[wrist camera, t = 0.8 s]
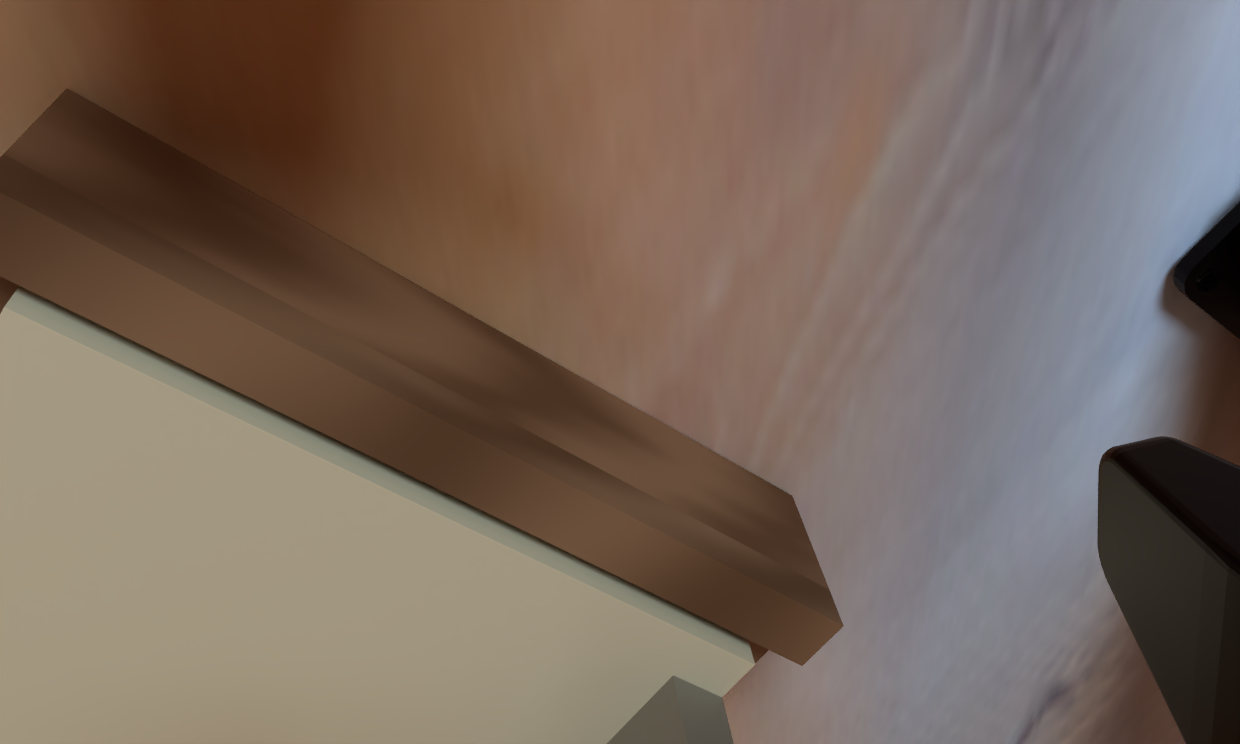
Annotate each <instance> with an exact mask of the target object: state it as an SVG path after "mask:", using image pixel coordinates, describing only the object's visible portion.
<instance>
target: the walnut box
mask: <svg viewBox="0 0 1240 744" xmlns="http://www.w3.org/2000/svg"><path fill="white" fill-rule="evenodd" d="M19 286H21V287H23V288H25V289H27V290H29V291H31V292H33V293H36V294H38V295H40V296H42V297H44V298H46V299H48V300H50V301H52V302H54V303H56V304H58V305H60V306H62V307H64V308H66V309H68V310H71V311H73V312H75V313H77V314H79V315H81V316H83V317H85V318H87V319H89V320H91V321H93V322H95V323H97V324H99V325H101V326H103V327H106V328H108V329H110V330H112V331H114V332H116V333H118V334H120V335H122V336H124V337H126V338H128V339H130V340H132V341H134V342H136V343H138V344H141V345H143V346H145V347H147V348H149V349H151V350H153V351H155V352H157V353H159V354H161V355H163V356H165V357H167V358H169V359H171V360H173V361H176V362H178V363H180V364H182V365H184V366H186V367H188V368H190V369H192V370H194V371H196V372H198V373H200V374H202V375H204V376H206V377H208V378H211V379H213V380H215V381H217V382H219V383H221V384H223V385H225V386H227V387H229V388H231V389H233V390H235V391H237V392H239V393H241V394H243V395H246V396H248V397H250V398H252V399H254V400H256V401H258V402H260V403H262V404H264V405H266V406H268V407H270V408H272V409H274V410H276V411H278V412H280V413H283V414H285V415H287V416H289V417H291V418H293V419H295V420H297V421H299V422H301V423H303V424H305V425H307V426H309V427H311V428H313V429H315V430H318V431H320V432H322V433H324V434H326V435H328V436H330V437H332V438H334V439H336V440H338V441H340V442H342V443H344V444H346V445H348V446H350V447H353V448H355V449H357V450H359V451H361V452H363V453H365V454H367V455H369V456H371V457H373V458H375V459H377V460H379V461H381V462H383V463H385V464H388V465H390V466H392V467H394V468H396V469H398V470H400V471H402V472H404V473H406V474H408V475H410V476H412V477H414V478H416V479H418V480H420V481H423V482H425V483H427V484H429V485H431V486H433V487H435V488H437V489H439V490H441V491H443V492H445V493H447V494H449V495H451V496H453V497H455V498H458V499H460V500H462V501H464V502H466V503H468V504H470V505H472V506H474V507H476V508H478V509H480V510H482V511H484V512H486V513H488V514H490V515H493V516H495V517H497V518H499V519H501V520H503V521H505V522H507V523H509V524H511V525H513V526H515V527H517V528H519V529H521V530H523V531H525V532H528V533H530V534H532V535H534V536H536V537H538V538H540V539H542V540H544V541H546V542H548V543H550V544H552V545H554V546H556V547H558V548H560V549H563V550H565V551H567V552H569V553H571V554H573V555H575V556H577V557H579V558H581V559H583V560H585V561H587V562H589V563H591V564H593V565H595V566H598V567H600V568H602V569H604V570H606V571H608V572H610V573H612V574H614V575H616V576H618V577H620V578H622V579H624V580H626V581H628V582H630V583H633V584H635V585H637V586H639V587H641V588H643V589H645V590H647V591H649V592H651V593H653V594H655V595H657V596H659V597H661V598H663V599H665V600H668V601H670V602H672V603H674V604H676V605H678V606H680V607H682V608H684V609H686V610H688V611H690V612H692V613H694V614H696V615H698V616H700V617H703V618H705V619H707V620H709V621H711V622H713V623H715V624H717V625H719V626H721V627H723V628H725V629H727V630H729V631H731V632H733V633H735V634H738V635H740V636H742V637H744V638H746V639H748V641H749V645H750V648H751V652H752V655H753V659H754V662H755V663H756V662H757V661H758V660H759V659H760V658H761V657H762V656H763V655H764V654H765V653H766V652H767V651H768V650H770V651H773V652H775V653H777V654H779V655H781V656H783V657H785V658H787V659H789V660H791V661H793V662H795V663H797V664H799V665H801V666H803V665H804V664H805V663H806V662H807V661H808V660H809V659H810V658H811V657H812V656H813V655H814V654H815V653H816V652H817V651H818V650H819V649H820V648H821V647H822V646H823V645H824V644H825V643H826V642H827V641H828V640H829V639H830V638H832V637H833V636H834V635H835V634H836V633H837V632H838V631H839V630H840V629H841V628H842V627H843V623H842V621H841V618H840V616H839V613H838V611H837V608H836V606H835V603H834V601H833V598H832V595H831V593H830V590H829V588H828V585H827V583H826V580H825V578H824V575H823V573H822V570H821V568H820V565H819V562H818V560H817V557H816V555H815V552H814V550H813V547H812V545H811V542H810V540H809V537H808V535H807V532H806V529H805V527H804V524H803V522H802V519H801V517H800V514H799V512H798V509H797V507H796V504H795V502H794V499H793V496H792V495H790V494H788V493H786V492H784V491H783V490H781V489H779V488H777V487H776V486H774V485H772V484H770V483H768V482H767V481H765V480H763V479H761V478H759V477H758V476H756V475H754V474H752V473H751V472H749V471H747V470H745V469H743V468H742V467H740V466H738V465H736V464H735V463H733V462H731V461H729V460H727V459H726V458H724V457H722V456H720V455H719V454H717V453H715V452H713V451H711V450H710V449H708V448H706V447H704V446H703V445H701V444H699V443H697V442H695V441H694V440H692V439H690V438H688V437H686V436H685V435H683V434H681V433H679V432H678V431H676V430H674V429H672V428H670V427H669V426H667V425H665V424H663V423H662V422H660V421H658V420H656V419H654V418H653V417H651V416H649V415H647V414H646V413H644V412H642V411H640V410H638V409H637V408H635V407H633V406H631V405H629V404H628V403H626V402H624V401H622V400H621V399H619V398H617V397H615V396H613V395H612V394H610V393H608V392H606V391H605V390H603V389H601V388H599V387H597V386H596V385H594V384H592V383H590V382H589V381H587V380H585V379H583V378H581V377H580V376H578V375H576V374H574V373H573V372H571V371H569V370H567V369H565V368H564V367H562V366H560V365H558V364H556V363H555V362H553V361H551V360H549V359H548V358H546V357H544V356H542V355H540V354H539V353H537V352H535V351H533V350H532V349H530V348H528V347H526V346H524V345H523V344H521V343H519V342H517V341H516V340H514V339H512V338H510V337H508V336H507V335H505V334H503V333H501V332H499V331H498V330H496V329H494V328H492V327H491V326H489V325H487V324H485V323H483V322H482V321H480V320H478V319H476V318H475V317H473V316H471V315H469V314H467V313H466V312H464V311H462V310H460V309H459V308H457V307H455V306H453V305H451V304H450V303H448V302H446V301H444V300H443V299H441V298H439V297H437V296H435V295H434V294H432V293H430V292H428V291H426V290H425V289H423V288H421V287H419V286H418V285H416V284H414V283H412V282H410V281H409V280H407V279H405V278H403V277H402V276H400V275H398V274H396V273H394V272H393V271H391V270H389V269H387V268H386V267H384V266H382V265H380V264H378V263H377V262H375V261H373V260H371V259H370V258H368V257H366V256H364V255H362V254H361V253H359V252H357V251H355V250H353V249H352V248H350V247H348V246H346V245H345V244H343V243H341V242H339V241H337V240H336V239H334V238H332V237H330V236H329V235H327V234H325V233H323V232H321V231H320V230H318V229H316V228H314V227H313V226H311V225H309V224H307V223H305V222H304V221H302V220H300V219H298V218H296V217H295V216H293V215H291V214H289V213H288V212H286V211H284V210H282V209H280V208H279V207H277V206H275V205H273V204H272V203H270V202H268V201H266V200H264V199H263V198H261V197H259V196H257V195H256V194H254V193H252V192H250V191H248V190H247V189H245V188H243V187H241V186H240V185H238V184H236V183H234V182H232V181H231V180H229V179H227V178H225V177H223V176H222V175H220V174H218V173H216V172H215V171H213V170H211V169H209V168H207V167H206V166H204V165H202V164H200V163H199V162H197V161H195V160H193V159H191V158H190V157H188V156H186V155H184V154H183V153H181V152H179V151H177V150H175V149H174V148H172V147H170V146H168V145H166V144H165V143H163V142H161V141H159V140H158V139H156V138H154V137H152V136H150V135H149V134H147V133H145V132H143V131H142V130H140V129H138V128H136V127H134V126H133V125H131V124H129V123H127V122H126V121H124V120H122V119H120V118H118V117H117V116H115V115H113V114H111V113H110V112H108V111H106V110H104V109H102V108H101V107H99V106H97V105H95V104H93V103H92V102H90V101H88V100H86V99H85V98H83V97H81V96H79V95H77V94H76V93H74V92H72V91H70V90H69V89H66V90H65V91H64V92H63V93H62V94H61V95H60V96H59V97H58V98H57V99H56V100H55V101H54V102H53V104H52V105H51V106H50V107H49V108H48V109H47V110H46V111H45V112H44V113H43V114H42V115H41V116H40V117H39V118H38V119H37V120H36V121H35V122H34V123H33V124H32V125H31V126H30V127H29V128H28V129H27V130H26V132H25V133H24V134H23V135H22V136H21V137H20V138H19V139H18V140H17V141H16V142H15V143H14V144H13V145H12V146H11V147H10V148H9V149H8V150H7V151H6V152H5V153H4V154H3V155H2V156H1V157H0V314H1V312H2V310H3V308H4V306H5V305H6V304H7V302H8V301H9V300H10V298H11V297H12V295H13V294H14V293H15V291H16V290H17V289H18V287H19Z"/></svg>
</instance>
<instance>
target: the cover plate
mask: <svg viewBox="0 0 1240 744" xmlns="http://www.w3.org/2000/svg"><path fill="white" fill-rule="evenodd" d="M754 665H755V662H754V659H753V655H752V652H751V648H750V645H749V641H748V639H746V638H744V637H742V636H740V635H738V634H735V633H733V632H731V631H729V630H727V629H725V628H723V627H721V626H719V625H717V624H715V623H713V622H711V621H709V620H707V619H705V618H703V617H700V616H698V615H696V614H694V613H692V612H690V611H688V610H686V609H684V608H682V607H680V606H678V605H676V604H674V603H672V602H670V601H668V600H665V599H663V598H661V597H659V596H657V595H655V594H653V593H651V592H649V591H647V590H645V589H643V588H641V587H639V586H637V585H635V584H633V583H630V582H628V581H626V580H624V579H622V578H620V577H618V576H616V575H614V574H612V573H610V572H608V571H606V570H604V569H602V568H600V567H598V566H595V565H593V564H591V563H589V562H587V561H585V560H583V559H581V558H579V557H577V556H575V555H573V554H571V553H569V552H567V551H565V550H563V549H560V548H558V547H556V546H554V545H552V544H550V543H548V542H546V541H544V540H542V539H540V538H538V537H536V536H534V535H532V534H530V533H528V532H525V531H523V530H521V529H519V528H517V527H515V526H513V525H511V524H509V523H507V522H505V521H503V520H501V519H499V518H497V517H495V516H493V515H490V514H488V513H486V512H484V511H482V510H480V509H478V508H476V507H474V506H472V505H470V504H468V503H466V502H464V501H462V500H460V499H458V498H455V497H453V496H451V495H449V494H447V493H445V492H443V491H441V490H439V489H437V488H435V487H433V486H431V485H429V484H427V483H425V482H423V481H420V480H418V479H416V478H414V477H412V476H410V475H408V474H406V473H404V472H402V471H400V470H398V469H396V468H394V467H392V466H390V465H388V464H385V463H383V462H381V461H379V460H377V459H375V458H373V457H371V456H369V455H367V454H365V453H363V452H361V451H359V450H357V449H355V448H353V447H350V446H348V445H346V444H344V443H342V442H340V441H338V440H336V439H334V438H332V437H330V436H328V435H326V434H324V433H322V432H320V431H318V430H315V429H313V428H311V427H309V426H307V425H305V424H303V423H301V422H299V421H297V420H295V419H293V418H291V417H289V416H287V415H285V414H283V413H280V412H278V411H276V410H274V409H272V408H270V407H268V406H266V405H264V404H262V403H260V402H258V401H256V400H254V399H252V398H250V397H248V396H246V395H243V394H241V393H239V392H237V391H235V390H233V389H231V388H229V387H227V386H225V385H223V384H221V383H219V382H217V381H215V380H213V379H211V378H208V377H206V376H204V375H202V374H200V373H198V372H196V371H194V370H192V369H190V368H188V367H186V366H184V365H182V364H180V363H178V362H176V361H173V360H171V359H169V358H167V357H165V356H163V355H161V354H159V353H157V352H155V351H153V350H151V349H149V348H147V347H145V346H143V345H141V344H138V343H136V342H134V341H132V340H130V339H128V338H126V337H124V336H122V335H120V334H118V333H116V332H114V331H112V330H110V329H108V328H106V327H103V326H101V325H99V324H97V323H95V322H93V321H91V320H89V319H87V318H85V317H83V316H81V315H79V314H77V313H75V312H73V311H71V310H68V309H66V308H64V307H62V306H60V305H58V304H56V303H54V302H52V301H50V300H48V299H46V298H44V297H42V296H40V295H38V294H36V293H33V292H31V291H29V290H27V289H25V288H23V287H21V286H19V287H18V289H17V290H16V291H15V293H14V294H13V295H12V297H11V298H10V300H9V301H8V302H7V304H6V305H5V306H4V308H3V310H2V312H1V314H0V744H734V743H733V739H732V735H731V731H730V727H729V723H728V719H727V715H726V711H725V707H724V703H723V699H722V697H723V696H724V695H725V694H726V693H727V692H728V691H729V690H730V689H731V688H732V687H733V686H734V685H735V684H736V683H737V682H738V681H739V680H740V679H741V678H742V677H743V676H744V675H745V674H746V673H747V672H748V671H749V670H750V669H751V668H752V667H753V666H754Z"/></svg>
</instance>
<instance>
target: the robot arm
mask: <svg viewBox="0 0 1240 744" xmlns="http://www.w3.org/2000/svg"><path fill="white" fill-rule="evenodd" d="M1207 269H1210V272H1209V274H1208V275H1207V276H1206V278H1204V279H1203V280H1201V281H1199V282H1197V279H1198V277H1199V276H1200V274H1201V273H1203V272H1204V271H1206V270H1207ZM1174 284H1175V285H1176V287H1177V288H1178V289H1179V290H1180V291H1181V292H1182V293H1183V294H1184V295H1185V296H1187V297H1188V298H1189V299H1190V300H1191V301H1193V302H1194V303H1195V304H1196V305H1198V306H1199V307H1200V308H1201V309H1203V310H1204V311H1205V312H1206V313H1208V314H1209V315H1210V316H1211V317H1213V318H1214V319H1215V320H1216V321H1218V322H1219V323H1220V324H1222V325H1223V326H1224V327H1225V328H1227V329H1228V330H1229V331H1230V332H1232V333H1233V334H1234V335H1235V336H1237V337H1238V338H1239V339H1240V203H1239V204H1238V205H1237V206H1236V207H1235V208H1234V209H1233V210H1232V211H1231V212H1230V213H1228V214H1227V215H1226V216H1225V217H1224V218H1223V219H1222V220H1221V221H1220V222H1219V223H1218V224H1217V225H1216V226H1215V227H1214V228H1213V229H1212V230H1211V231H1210V232H1209V233H1208V234H1207V235H1206V236H1205V237H1204V238H1203V239H1202V240H1201V241H1200V242H1199V243H1198V244H1197V245H1196V246H1195V247H1194V248H1193V249H1192V250H1191V251H1190V252H1189V253H1188V254H1187V255H1186V256H1185V257H1184V258H1183V259H1182V260H1181V262H1180V263H1179V264H1178V265H1177V267H1176V270H1175V273H1174ZM1098 551H1099V557H1100V561H1101V565H1102V568H1103V571H1104V574H1105V577H1106V579H1107V581H1108V584H1109V586H1110V588H1111V590H1112V592H1113V594H1114V596H1115V598H1116V600H1117V602H1118V604H1119V606H1120V608H1121V611H1122V613H1123V615H1124V617H1125V619H1126V621H1127V623H1128V625H1129V627H1130V629H1131V631H1132V633H1133V635H1134V637H1135V639H1136V642H1137V644H1138V646H1139V648H1140V650H1141V652H1142V654H1143V656H1144V658H1145V660H1146V662H1147V664H1148V666H1149V668H1150V671H1151V673H1152V675H1153V677H1154V679H1155V681H1156V683H1157V685H1158V687H1159V689H1160V691H1161V693H1162V695H1163V697H1164V700H1165V702H1166V704H1167V706H1168V708H1169V710H1170V712H1171V714H1172V716H1173V718H1174V720H1175V722H1176V724H1177V726H1178V728H1179V731H1180V733H1181V735H1182V737H1183V739H1184V741H1185V743H1186V744H1240V466H1238V465H1235V464H1233V463H1231V462H1228V461H1226V460H1224V459H1221V458H1219V457H1217V456H1215V455H1212V454H1210V453H1208V452H1205V451H1203V450H1201V449H1199V448H1196V447H1194V446H1192V445H1189V444H1187V443H1185V442H1182V441H1180V440H1177V439H1174V438H1171V437H1155V438H1150V439H1146V440H1142V441H1137V442H1133V443H1128V444H1124V445H1120V446H1115V447H1112V448H1110V449H1109V450H1107V451H1106V452H1105V453H1104V454H1103V455H1102V458H1101V461H1100V465H1099V482H1098Z"/></svg>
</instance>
